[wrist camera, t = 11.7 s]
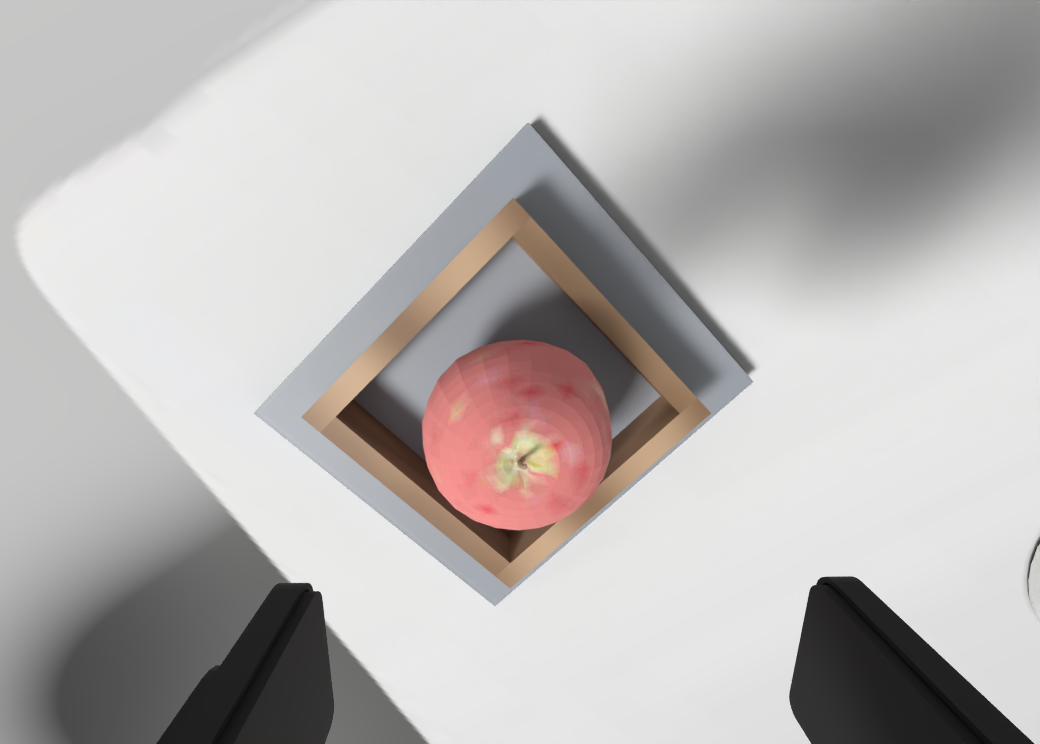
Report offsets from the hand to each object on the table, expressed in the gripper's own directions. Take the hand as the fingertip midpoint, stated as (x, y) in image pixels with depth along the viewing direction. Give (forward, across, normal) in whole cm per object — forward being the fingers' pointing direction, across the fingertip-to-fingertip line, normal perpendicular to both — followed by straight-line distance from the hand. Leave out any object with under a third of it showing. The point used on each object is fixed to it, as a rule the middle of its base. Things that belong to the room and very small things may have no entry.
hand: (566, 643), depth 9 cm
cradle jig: (+16, +1, 0) cm, 16 cm away
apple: (+15, +1, 0) cm, 15 cm away
